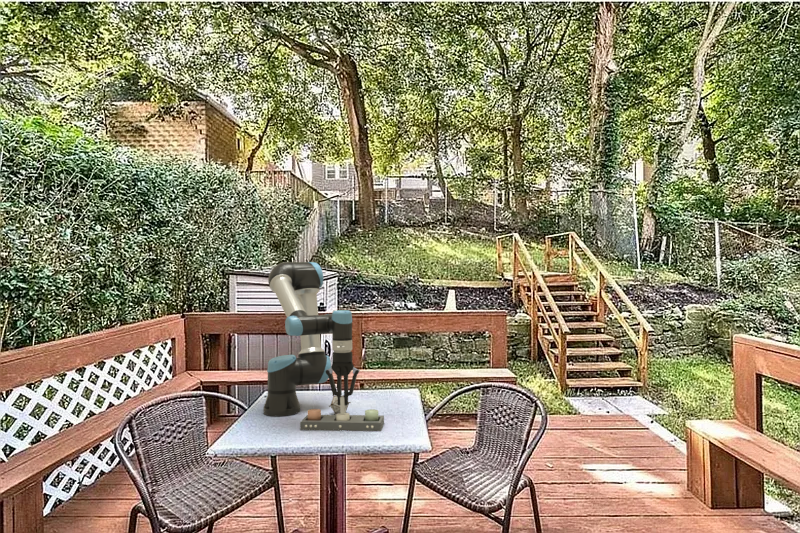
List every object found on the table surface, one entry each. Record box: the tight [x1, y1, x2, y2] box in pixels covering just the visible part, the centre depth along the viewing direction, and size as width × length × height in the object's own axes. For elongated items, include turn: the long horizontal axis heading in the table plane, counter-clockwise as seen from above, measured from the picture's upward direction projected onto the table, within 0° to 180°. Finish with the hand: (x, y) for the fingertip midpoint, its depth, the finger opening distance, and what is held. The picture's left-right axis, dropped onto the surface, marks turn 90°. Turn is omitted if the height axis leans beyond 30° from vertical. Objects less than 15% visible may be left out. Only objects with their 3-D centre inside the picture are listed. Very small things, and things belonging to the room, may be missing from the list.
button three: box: [307, 408, 322, 420], centre depth 210 cm, size 5×5×4 cm
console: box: [299, 414, 385, 432], centre depth 209 cm, size 30×12×3 cm, turn 85°
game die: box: [328, 394, 352, 415], centre depth 229 cm, size 9×8×10 cm
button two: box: [364, 408, 379, 421], centre depth 208 cm, size 5×5×4 cm
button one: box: [335, 412, 351, 421], centre depth 209 cm, size 5×5×4 cm
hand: (343, 413), depth 209 cm, fingers closed
